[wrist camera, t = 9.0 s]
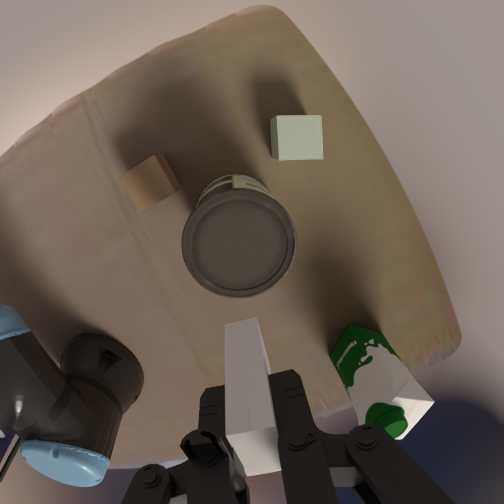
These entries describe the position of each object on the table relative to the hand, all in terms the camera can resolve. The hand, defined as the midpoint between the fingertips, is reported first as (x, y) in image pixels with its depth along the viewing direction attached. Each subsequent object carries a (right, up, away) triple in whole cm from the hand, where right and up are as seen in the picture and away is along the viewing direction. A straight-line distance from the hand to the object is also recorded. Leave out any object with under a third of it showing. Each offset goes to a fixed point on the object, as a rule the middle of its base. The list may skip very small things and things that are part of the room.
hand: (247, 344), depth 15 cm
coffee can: (-2, +9, +27) cm, 29 cm away
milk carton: (+18, -11, +35) cm, 41 cm away
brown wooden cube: (-12, +14, +25) cm, 31 cm away
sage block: (+5, +19, +24) cm, 31 cm away
